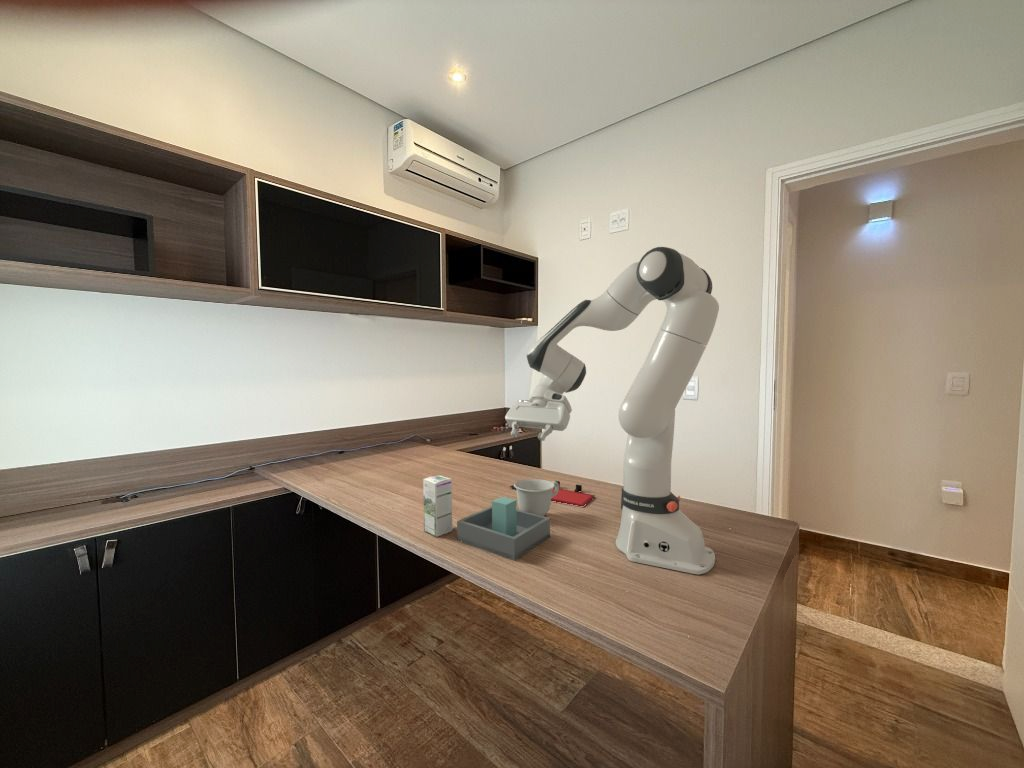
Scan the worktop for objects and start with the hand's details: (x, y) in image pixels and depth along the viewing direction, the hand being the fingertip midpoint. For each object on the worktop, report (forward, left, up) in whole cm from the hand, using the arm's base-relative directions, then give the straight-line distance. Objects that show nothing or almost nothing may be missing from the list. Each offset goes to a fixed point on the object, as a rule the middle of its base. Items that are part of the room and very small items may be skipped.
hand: (526, 437), depth 117 cm
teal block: (-3, +15, -23) cm, 27 cm away
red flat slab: (+7, -25, -25) cm, 35 cm away
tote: (-3, +15, -24) cm, 28 cm away
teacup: (-2, -3, -24) cm, 24 cm away
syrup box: (+14, +22, -24) cm, 35 cm away
